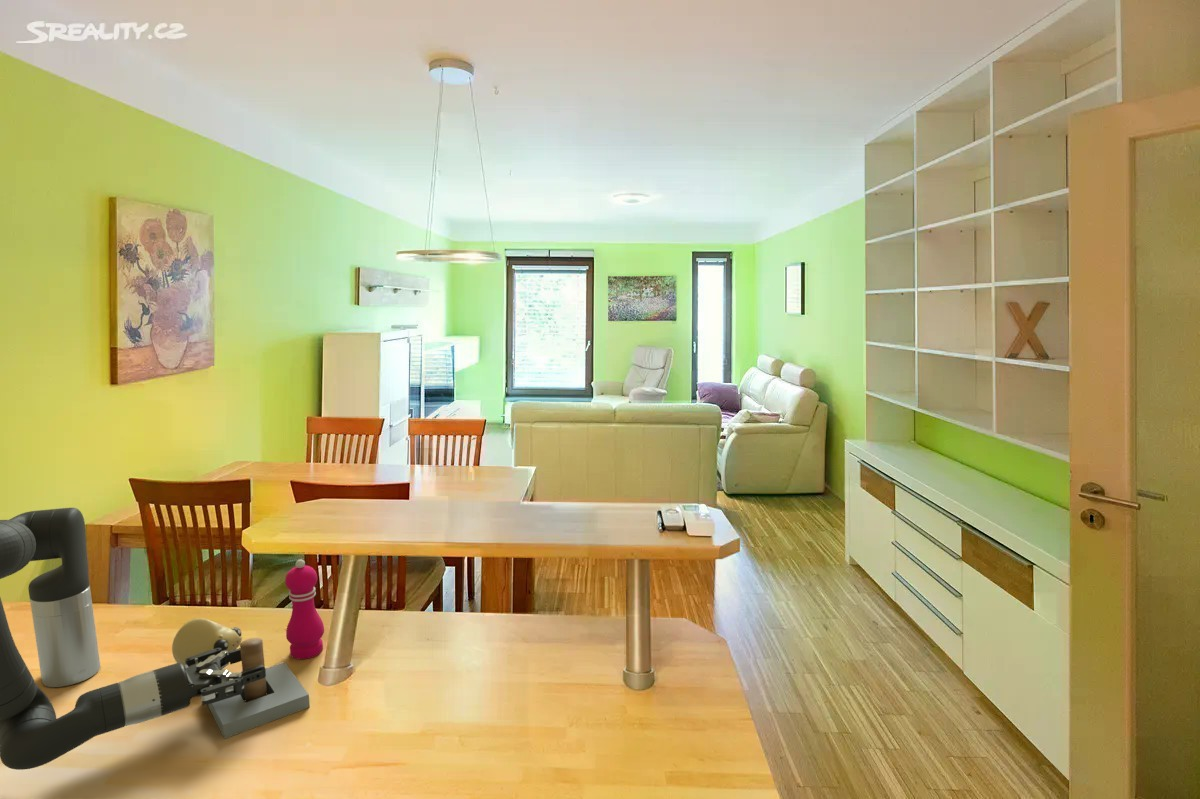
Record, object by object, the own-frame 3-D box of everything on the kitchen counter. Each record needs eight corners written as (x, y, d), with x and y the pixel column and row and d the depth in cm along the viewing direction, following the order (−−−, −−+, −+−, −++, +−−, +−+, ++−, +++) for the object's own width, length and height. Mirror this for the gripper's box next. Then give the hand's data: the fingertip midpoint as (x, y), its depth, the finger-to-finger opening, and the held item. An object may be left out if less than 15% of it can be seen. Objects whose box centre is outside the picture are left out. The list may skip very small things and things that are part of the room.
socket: (205, 700, 133) (204, 688, 132) (285, 674, 141) (284, 662, 141) (224, 738, 122) (223, 725, 122) (309, 707, 131) (308, 694, 130)
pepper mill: (297, 642, 153) (290, 552, 150) (331, 642, 153) (324, 553, 150) (281, 660, 146) (273, 566, 143) (316, 661, 146) (310, 567, 142)
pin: (243, 703, 132) (237, 642, 130) (264, 696, 134) (259, 635, 132) (248, 712, 129) (243, 650, 127) (270, 705, 131) (264, 643, 129)
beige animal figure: (223, 685, 137) (218, 633, 136) (163, 682, 139) (158, 630, 137) (252, 658, 147) (248, 609, 145) (197, 655, 148) (192, 606, 146)
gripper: (159, 692, 115) (268, 657, 125) (144, 655, 125) (245, 626, 136) (164, 735, 116) (271, 697, 126) (149, 695, 127) (248, 663, 137)
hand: (258, 660), depth 131 cm, fingers open, 8 cm apart
